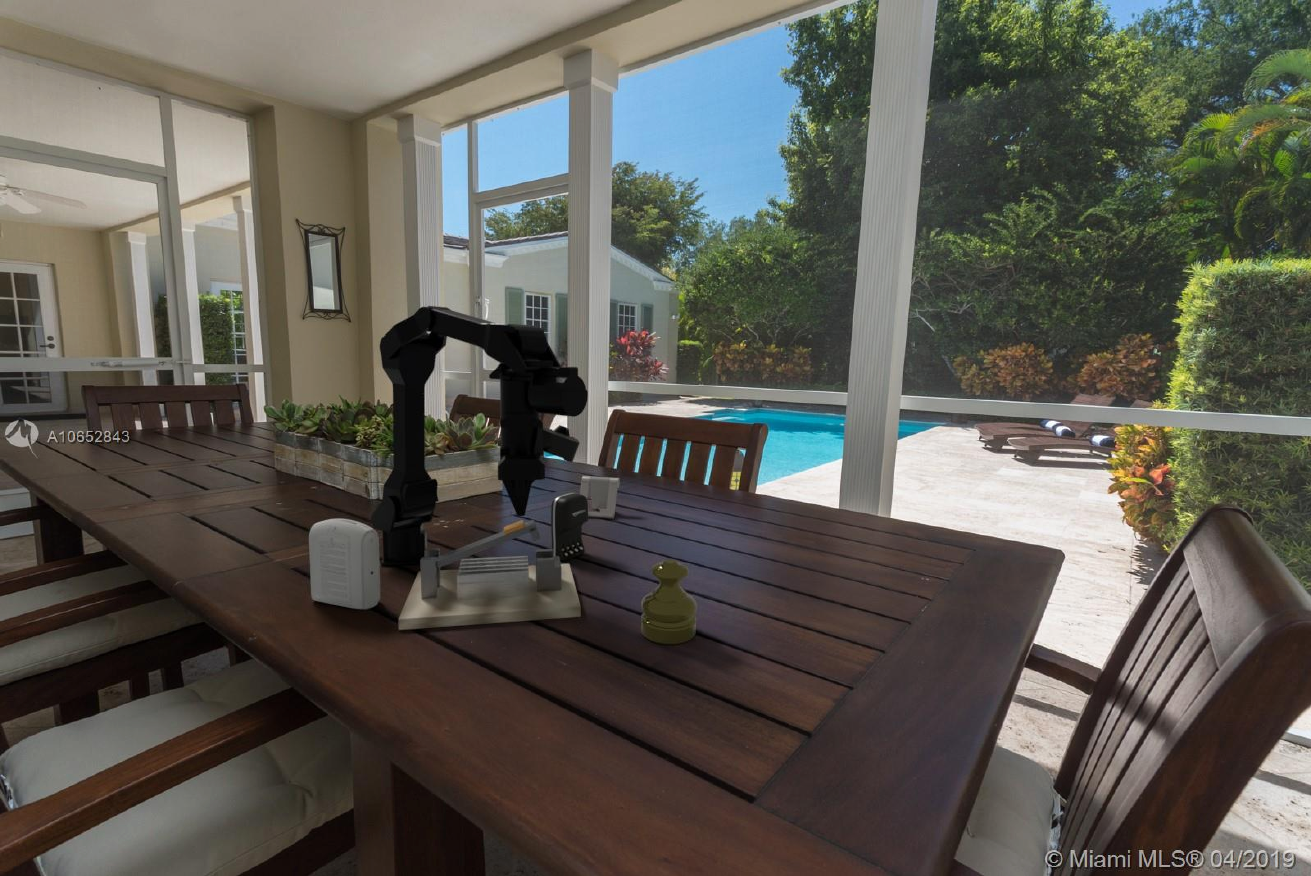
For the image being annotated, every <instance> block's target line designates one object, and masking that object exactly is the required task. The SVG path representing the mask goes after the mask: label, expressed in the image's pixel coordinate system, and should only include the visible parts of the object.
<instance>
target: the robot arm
mask: <svg viewBox="0 0 1311 876" xmlns="http://www.w3.org/2000/svg"><path fill="white" fill-rule="evenodd" d="M428 332H429V333H428ZM448 338H451V339H452V340H453V339H454V340H456V341H460V342H463V343H465V344H466V343H467V344H469V345H472V346H476V347H478V348H480V349H482V350H483V351H484V353H485V354H486V355H487V356H488V357H490V358H491V359H493V360H494V361H496V362H498V363H499V364H498V365H497V367H496V368H495V369H494V370H492V371H491V372H490V373H489V374H488V375H489V376H488V377H489V379H491V380H499V385H500V386H499V389H500V390H499V393H500V394H499V396H500V397H499V399H500V402H499V405H500V406H499V408H500V413H499V414H500V415H499V416H500V421H499V427H500V447H499V461H498V462H497V480H498V481H501V482H502V484H503V486H504V488H505V491H506V492H507V495H508V497H509V500H510V502H511V504H512V506H513V508H514V511H515V514H516V516H517V517H524V516H526V511H527V507H528V502H529V497H530V493H531V489H532V484H533V483H534V482H535V481H539V480H540V481H542V480H545V479H546V465H545V461H544V460H543V459H542V458H541V457H544V453H546V454H550V455H552V456H555V457H558V458H560V459H561V458H562V459H563V461H566V462H569V463H573V462H574V459H575V456H576V453H577V451H578V448H579V446H580V443H581V442H580V441H579V439H578V438H575V436H570V429H569V427H566V426H564V425H561V424H560V425H558V426H557V427H556V428H555V429H551V428H546V427H544V422H543V419H542V418H541V415H543V414H544V415H554V416H564V417H578V416H579V415H581V414H582V413H583V412H584V410H585V408H586V406H587V403H588V397H589V392H588V390H587V388H586V384H585V381H584V380H583V378H581V377H580V376H579V368H578V367H577V366H561V364H560V362H559V360H558V357H556V355H555V352H554V351H553V349H552V347H551V345H550V344H549V342H548V340H547V336H546V335H545V331H544V330H543V328H542V327H539V326H538V325H530V324H529V325H528V324H518V323H516V324H515V323H502V322H501V323H500V322H499V323H497V322H494V321H489V320H486V319H482V318H480V317H476V316H472V315H468V314H466V313H461V312H458V311H455V310H452V309H451V308H449V307H446V306H435V305H424V306H421V307H420V308H418V309H417V310H416V312H415V313H414V314H412V315H411V316H409V317H407V318H405V319H403V320H402V321H399V322H397V323H396V324H394V325H393V326H392V327H391V328H390V329H389V330H388V331H386V333H385V334H384V336H383V337H381V339H380V342H379V351H380V358H381V359H380V360H381V366H382V369H383V371H384V372H385V374H386V376H387V377H388V379H389V380H390V382H391V384H392V423H393V424H392V425H393V427H392V428H393V429H392V430H393V431H392V432H393V434H392V436H393V437H392V438H393V441H392V442H393V443H392V445H393V446H392V447H393V448H392V449H393V453H392V454H393V467H392V470H391V472H390V473H389V476H388V478H387V479H386V481H385V482H384V484H383V490H382V498H381V502H380V503H379V504H378V506H377V507H376V508H375V510H374V511H373V513H372V514H371V515H370V520H371V523H372V527H373V528H372V529H374V530H379V531H381V535H382V554H383V555H382V556H383V557H382V560H381V561H380V566H394V565H395V566H397V565H398V566H400V565H415V564H417V565H418V564H420V560H421V558H425V549H427V548H428V532H427V530H426V529H425V530H424V524H425V523H426V524H427V523H431V522H432V521H433V516H434V512H435V509H436V507H437V503H438V502H439V497H438V485H439V482H438V480H437V478H432V477H431V475H430V474H429V473H428V471H427V470H426V467H425V466H426V453H425V452H426V447H425V446H426V442H425V441H426V438H425V437H426V433H425V431H426V422H425V421H426V418H425V417H426V406H425V405H426V404H425V403H426V401H425V399H426V396H425V394H426V384H427V382H428V381H429V379H430V377H431V376H432V373H433V372H434V370H435V366H436V358H437V355H438V354H439V353H440V352H441V351H442V350H443V349H444V348H445V347H446V344H447V339H448Z"/></svg>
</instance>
